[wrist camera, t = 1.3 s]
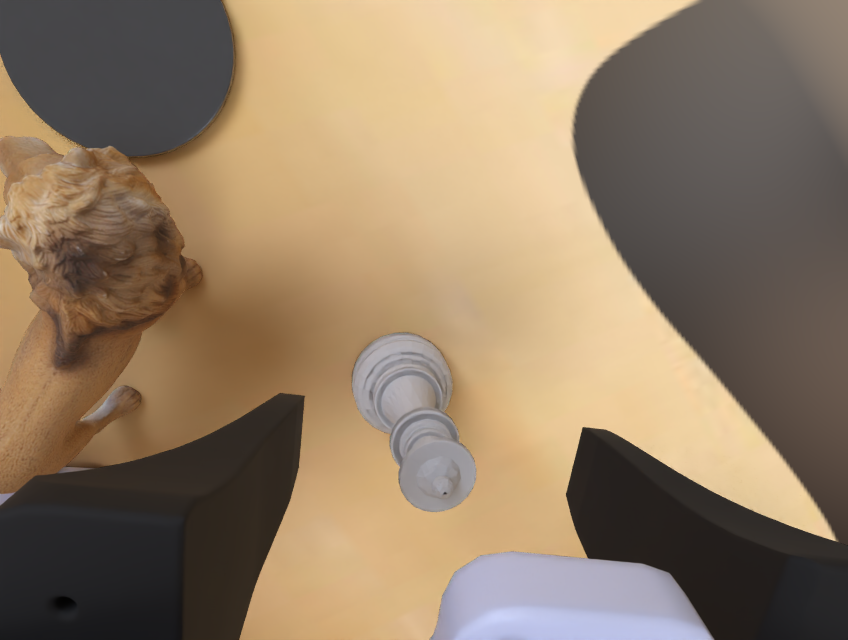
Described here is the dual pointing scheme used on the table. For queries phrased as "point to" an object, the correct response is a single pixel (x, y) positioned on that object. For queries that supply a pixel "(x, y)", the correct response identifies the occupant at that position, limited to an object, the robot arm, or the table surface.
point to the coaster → (121, 68)
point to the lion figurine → (79, 295)
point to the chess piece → (415, 418)
